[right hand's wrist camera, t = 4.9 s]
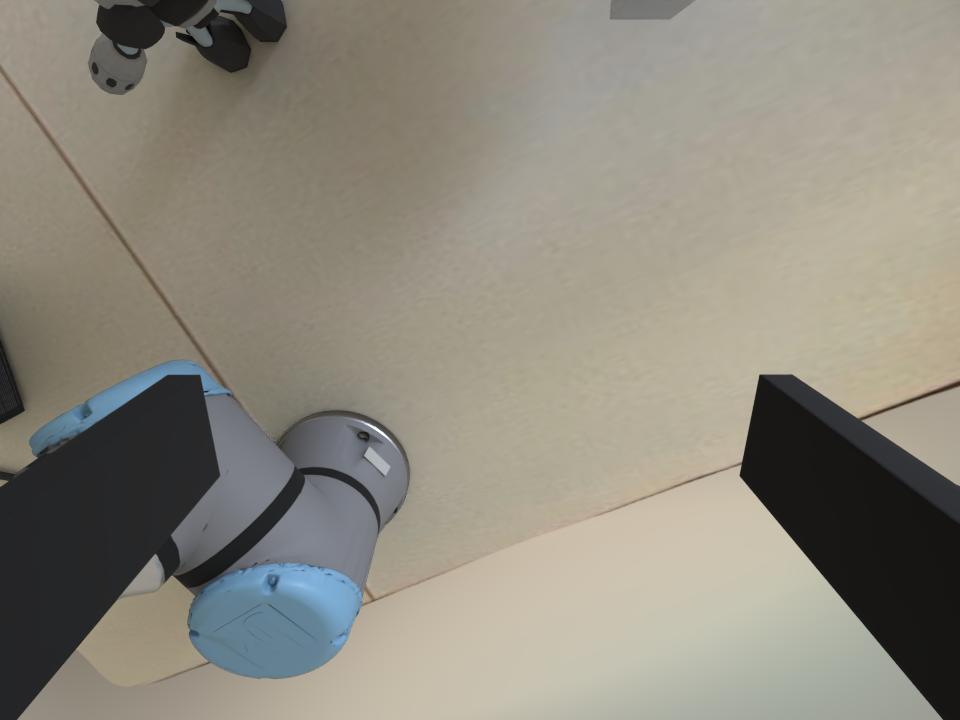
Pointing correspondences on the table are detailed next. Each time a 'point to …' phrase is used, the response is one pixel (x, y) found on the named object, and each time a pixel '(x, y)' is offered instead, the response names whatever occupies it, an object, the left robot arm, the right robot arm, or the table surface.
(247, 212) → the table surface
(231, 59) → the robot
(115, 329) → the table surface
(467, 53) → the table surface
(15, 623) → the right robot arm
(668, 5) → the bar
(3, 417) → the graphics card box
